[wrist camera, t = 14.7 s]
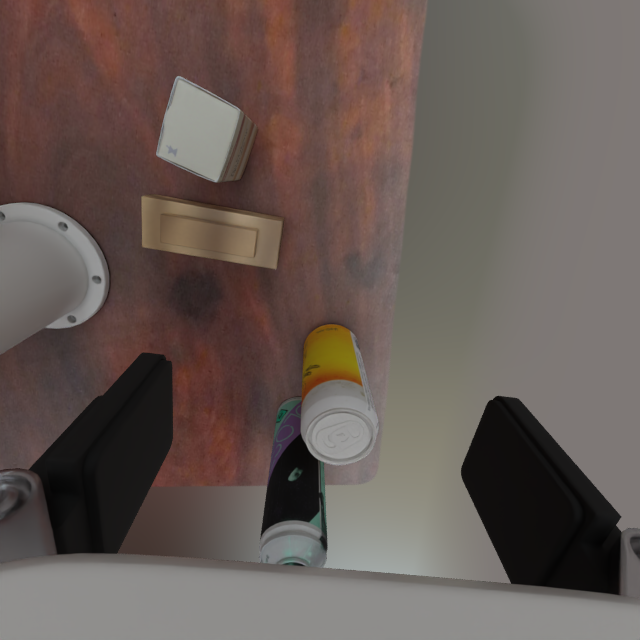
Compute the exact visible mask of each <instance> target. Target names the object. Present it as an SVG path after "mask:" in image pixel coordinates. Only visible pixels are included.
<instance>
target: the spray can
mask: <svg viewBox="0 0 640 640" xmlns="http://www.w3.org/2000/svg"><path fill="white" fill-rule="evenodd" d="M301 403H302V397H293V398H290V399H288V400H286V401H284V402H283V403H282V404H281V405H280V407H279V409H278V412H277V418H276V426H275V433H274V441H273V448H272V456H271V463H270V471H269V478H268V486H267V493H266V501H265V508H264V516H263V523H262V531H261V538H260V546H259V549H260V556H259V558H260V563H268V564H281V565H294V566H307V567H319V568H323V566H324V565H325V562H326V559H327V557H326V552H327V526H326V502H325V480H324V462H322V461H320V460H318V459H317V458H315V457H314V456H313V455H312V454H311V453H310V451H309V450H308V447H307V445H306V443H305V442H304V440H303V438H302V435H301Z"/></svg>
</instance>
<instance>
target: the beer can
mask: <svg viewBox="0 0 640 640" xmlns="http://www.w3.org/2000/svg"><path fill="white" fill-rule="evenodd" d="M378 430H379V422H378V417H377V413H376V410H375V406H374V402H373V398H372V394H371V391H370V387H369V383H368V379H367V375H366V372H365V368H364V364H363V360H362V356H361V353H360V349H359V345H358V342H357V339H356V337H355V335H354V334H353V333H352V332H351V331H350V330H348V329H347V328H345V327H343V326H340V325H335V324H328V325H323V326H320V327H318V328H316V329H315V330H313V331H312V332H311V333H310V334H309V335H308V337H307V338H306V340H305V343H304V352H303V377H302V403H301V435H302V438H303V440H304V442H305V443H306V445H307V447H308V450H309V451H310V453H311V454H312V455H313V456H314V457H315V458H317V459H318V460H320V461H322V462H324V463H327V464H331V465H347V464H352V463H355V462H357V461H359V460H361V459H363V458H364V457H365V456H367V455H368V454H369V453H370V451H371V450H372V448H373V447H374V444H375V441H376V436H377V434H378Z"/></svg>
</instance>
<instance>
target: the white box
mask: <svg viewBox="0 0 640 640" xmlns="http://www.w3.org/2000/svg"><path fill="white" fill-rule="evenodd" d="M257 131H258V127H257V126H256V125H255V124H254V123H253V122H252V121H251V120H250V119H249V118H248V117H247V116H246V115H245V114H244V113H243V112H242V111H241V110H240V109H239V108H237V107H236V106H234V105H232V104H230V103H229V102H227V101H225V100H223V99H222V98H220V97H218V96H216V95H215V94H213V93H211V92H209V91H207V90H206V89H204V88H202V87H200V86H198V85H196V84H194V83H192V82H190V81H188V80H186V79H184V78H182V77H181V76H177V77H176V79H175V82H174V86H173V89H172V91H171V96H170V99H169V102H168V106H167V109H166V113H165V116H164V120H163V125H162V129H161V134H160V139H159V143H158V148H157V153H156V154H157V156H158V157H160V158H162V159H164V160H166V161H168V162H170V163H172V164H174V165H176V166H178V167H180V168H182V169H184V170H187V171H189V172H191V173H193V174H196V175H198V176H200V177H203V178H205V179H208V180H210V181H212V182H226V181H236V180H240V179H241V177H242V175H243V173H244V170H245V167H246V165H247V162H248V159H249V156H250V153H251V150H252V147H253V144H254V141H255V138H256V135H257Z"/></svg>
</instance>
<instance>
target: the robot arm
mask: <svg viewBox="0 0 640 640" xmlns="http://www.w3.org/2000/svg"><path fill="white" fill-rule="evenodd" d="M66 224H67V225H66ZM67 226H68V227H67ZM99 277H100V278H101V279H100V278H99ZM108 290H109V271H108V266H107V263H106V260H105V258H104V255H103V253H102V251H101V249H100V248H99V246H98V244H97V243H96V241H95V240H94V239H93V237H92V236H91V235H90V234H89V233H88V232H87V230H86V229H84V228H83V227H82V226H81V225H80V224H79V223H78V222H76V221H75V220H74V219H72V218H71V217H69V216H67V215H66V214H64V213H63V212H60V211H58V210H56V209H54V208H51V207H48V206H45V205H41V204H37V203H26V202H21V203H10V204H6V205H1V206H0V355H1V354H3V353H4V352H6V351H7V350H9V349H11V348H12V347H14V346H16V345H17V344H19V343H20V342H22V341H24V340H25V339H27V338H29V337H30V336H32V335H33V334H35V333H37V332H38V331H40V330H42V329H43V328H55V329H60V328H69V327H72V326H76V325H79V324H81V323H83V322H84V321H86V320H88V319H89V318H91V317H92V316H93V315H95V314H96V313H97V312H98V311H99V309H100V308H101V307H102V306H103V304H104V302H105V300H106V298H107V295H108ZM172 439H173V401H172V362H171V361H167V360H166V357H165V356H164V355H160V354H152V353H142V354H140V355H139V356H138V358H137V359H136V360H135V361H134V362H133V363H132V364H131V365H130V366H129V367H128V369H127V370H126V371H125V372H124V373H123V374H122V375H121V376H120V377H119V378H118V380H117V381H116V382H115V383H114V384H113V385H112V386H111V387H110V388H109V389H108V391H107V392H106V393H105V394H104V395H103V396H98V397H97V398H95V399H94V400H93V401H92V402H91V403H90V404H89V405H88V406H87V408H86V409H85V410H84V411H83V412H82V413H81V414H80V415H79V416H78V417H77V418H76V419H75V420H74V421H73V423H72V424H71V425H70V426H69V427H68V428H67V429H66V430H65V431H64V432H63V433H62V434H61V435H60V436H59V438H58V439H57V440H56V441H55V442H54V443H53V444H52V445H51V446H50V447H49V448H48V449H47V450H46V452H45V453H44V454H43V455H42V456H41V457H40V458H39V459H38V460H37V461H36V462H35V463H34V464H33V465H32V467H31V468H30V469H29V470H26V469H20V468H16V469H4V470H0V640H640V529H638V528H628V529H626V530H624V531H623V532H621V531H620V530H619V529H618V527H617V526H616V524H617V523H618V521H619V520H620V518H621V516H620V515H619V514H618V512H617V511H616V510H615V509H614V508H613V507H612V505H611V504H610V503H609V502H608V501H607V500H606V499H605V498H604V496H603V495H602V494H601V493H600V492H599V490H597V488H596V487H595V486H594V485H593V484H592V482H591V481H590V480H589V479H588V478H587V477H586V476H585V474H584V473H583V472H582V471H581V470H580V469H579V467H578V466H577V465H576V464H575V463H574V462H573V461H572V459H571V458H570V457H569V456H568V455H567V454H566V453H565V452H564V450H563V449H562V448H561V447H560V446H559V445H558V443H557V442H556V441H555V440H554V439H553V438H552V436H551V435H550V434H549V433H548V432H547V431H546V430H545V429H544V427H543V426H542V425H541V424H540V423H539V422H538V420H537V419H536V418H535V417H534V416H533V415H532V414H531V412H530V411H529V410H528V409H527V408H526V407H525V405H524V404H523V403H522V402H521V401H520V400H519V399H517V398H511V397H502V396H496V397H495V398H494V399H493V400H490V401H489V402H488V403H487V406H486V408H485V410H484V413H483V415H482V418H481V421H480V423H479V425H478V428H477V430H476V433H475V435H474V438H473V440H472V443H471V446H470V447H469V450H468V453H467V455H466V457H465V460H464V462H463V465H462V468H461V476H462V479H463V482H464V484H465V486H466V488H467V490H468V492H469V494H470V497H471V499H472V501H473V503H474V505H475V507H476V509H477V512H478V514H479V516H480V518H481V520H482V522H483V524H484V526H485V529H486V531H487V533H488V535H489V537H490V539H491V541H492V543H493V546H494V548H495V550H496V552H497V554H498V556H499V558H500V560H501V563H502V564H503V567H504V569H505V571H506V573H507V575H508V578H509V579H510V582H511V584H507V583H497V582H486V581H474V580H463V579H452V578H440V577H428V576H416V575H404V574H393V573H381V572H369V571H356V570H344V569H332V568H319V567H307V566H294V565H281V564H268V563H255V562H242V561H229V560H215V559H202V558H187V557H170V556H152V555H136V554H117V553H118V550H119V549H120V547H121V545H122V543H123V541H124V538H125V537H126V535H127V533H128V530H129V529H130V527H131V525H132V523H133V521H134V519H135V517H136V515H137V513H138V511H139V509H140V507H141V505H142V503H143V501H144V499H145V497H146V495H147V493H148V491H149V489H150V487H151V485H152V483H153V481H154V479H155V477H156V475H157V473H158V471H159V469H160V467H161V465H162V463H163V461H164V459H165V457H166V455H167V453H168V452H169V449H170V447H171V444H172Z"/></svg>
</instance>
